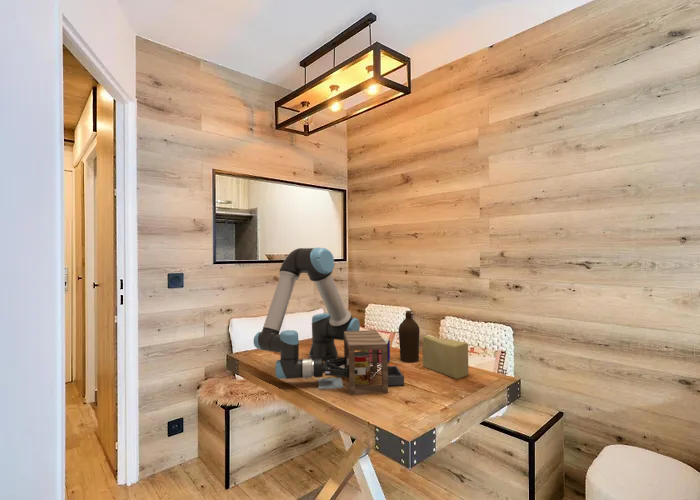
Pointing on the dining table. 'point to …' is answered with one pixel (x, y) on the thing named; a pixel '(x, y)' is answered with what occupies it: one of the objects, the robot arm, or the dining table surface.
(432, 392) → the dining table surface
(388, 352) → the puzzle cube
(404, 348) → the olive oil
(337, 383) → the mat
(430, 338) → the cheese
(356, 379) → the canned food
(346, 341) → the tunnel
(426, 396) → the dining table surface
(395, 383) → the tray
